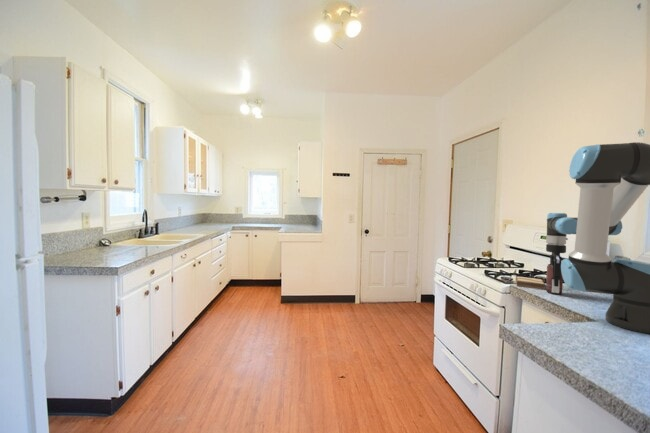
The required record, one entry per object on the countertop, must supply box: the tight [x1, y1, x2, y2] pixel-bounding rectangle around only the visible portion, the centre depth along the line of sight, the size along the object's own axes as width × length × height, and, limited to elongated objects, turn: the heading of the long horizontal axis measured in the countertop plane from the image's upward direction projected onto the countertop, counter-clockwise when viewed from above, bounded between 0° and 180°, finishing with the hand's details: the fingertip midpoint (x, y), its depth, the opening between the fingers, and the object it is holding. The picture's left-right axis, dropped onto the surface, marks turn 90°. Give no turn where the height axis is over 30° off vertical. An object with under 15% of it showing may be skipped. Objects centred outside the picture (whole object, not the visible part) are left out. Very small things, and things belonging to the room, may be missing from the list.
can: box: [545, 263, 564, 296], centre depth 137 cm, size 6×6×14 cm
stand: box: [515, 276, 546, 291], centre depth 151 cm, size 12×12×3 cm
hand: (554, 291), depth 136 cm, fingers open, 5 cm apart
